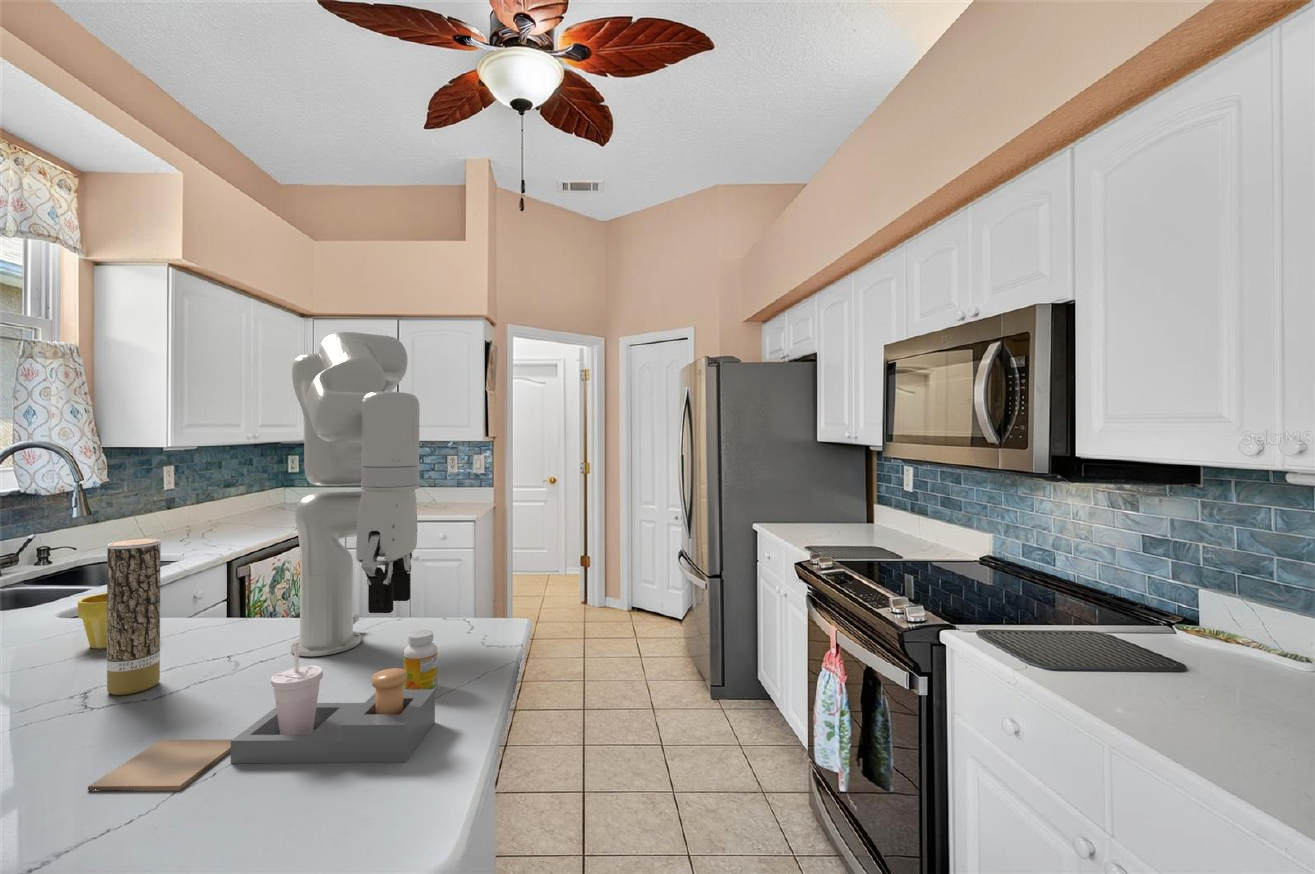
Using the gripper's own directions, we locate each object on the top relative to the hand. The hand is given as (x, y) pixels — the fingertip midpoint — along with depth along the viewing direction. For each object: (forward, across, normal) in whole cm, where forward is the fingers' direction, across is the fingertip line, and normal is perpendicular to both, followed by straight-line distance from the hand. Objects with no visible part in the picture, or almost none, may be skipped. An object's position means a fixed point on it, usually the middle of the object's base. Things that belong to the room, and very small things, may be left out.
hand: (390, 604), depth 84 cm
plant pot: (+20, -40, -74) cm, 86 cm away
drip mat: (+19, +6, -26) cm, 33 cm away
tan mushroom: (+17, 0, 0) cm, 17 cm away
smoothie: (+20, 0, -13) cm, 24 cm away
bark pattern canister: (+20, -18, -51) cm, 58 cm away
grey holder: (+19, 0, -7) cm, 21 cm away
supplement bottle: (+20, -17, -2) cm, 26 cm away
